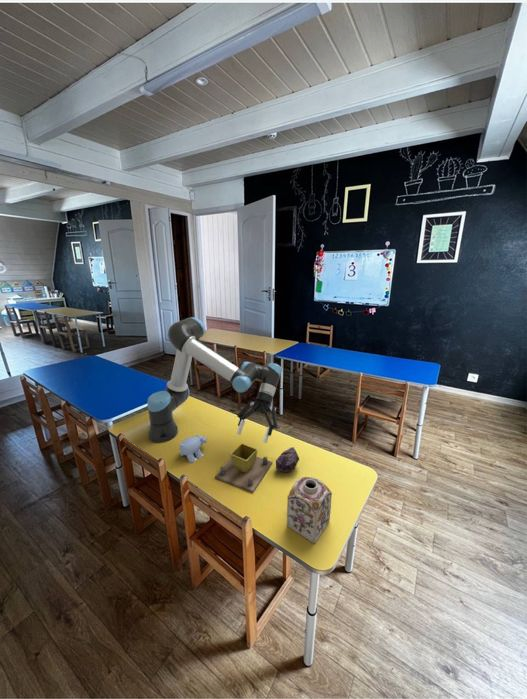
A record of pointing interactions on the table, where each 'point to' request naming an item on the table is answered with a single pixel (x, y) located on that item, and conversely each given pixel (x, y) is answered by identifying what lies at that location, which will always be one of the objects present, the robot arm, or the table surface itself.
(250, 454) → the flower pot
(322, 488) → the decorative jar
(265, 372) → the robot arm
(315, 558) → the table surface
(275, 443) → the table surface
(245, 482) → the standoff plate
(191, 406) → the table surface
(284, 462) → the rock
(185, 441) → the hippopotamus toy
